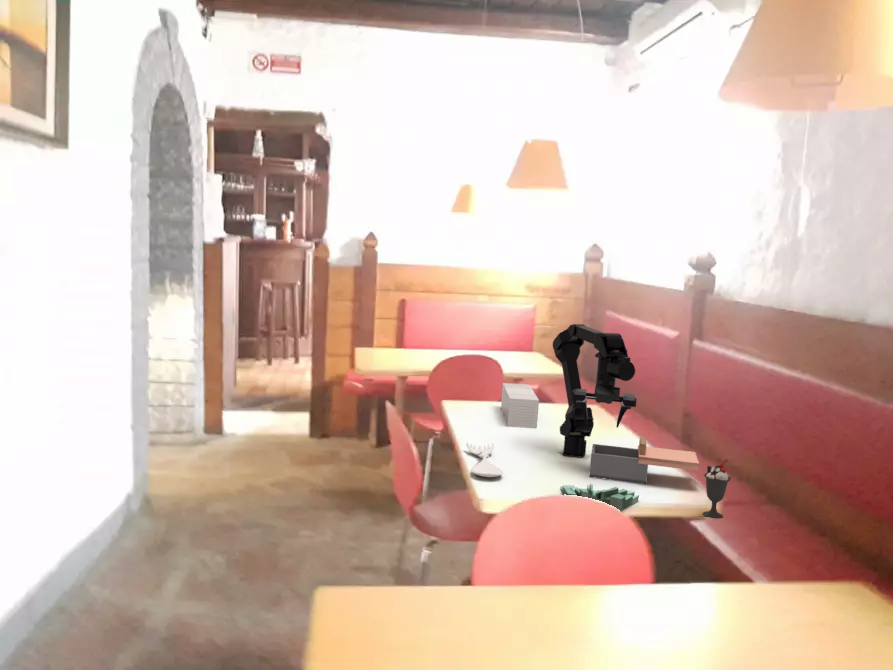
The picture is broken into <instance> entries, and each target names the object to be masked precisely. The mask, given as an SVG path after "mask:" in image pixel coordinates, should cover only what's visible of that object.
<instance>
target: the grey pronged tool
mask: <svg viewBox="0 0 893 670" xmlns="http://www.w3.org/2000/svg"><path fill="white" fill-rule="evenodd" d="M483 446H484V447H482V445H478V448H477V446H476V444H474V446H473V444H472V443H470V444H469V443H468V441H466V447H467V449H468V450H469V452H470V453H471V454H473V455H475V456H477V457H479V458H481V459H482V460H481V461H480V462H478V463H477V464H476V465H473V466H472V467H471V472H472V473H473V474H475V475H477V476H480V477H483V478H495V477H496V478H497V477H499V476H502V475H503V474H504V471H503V470H502V469H500V467H497V465H495V464H494V463H491V462H490V461H489V460H488V458H489V457H490V455H491V454H492V453H493V450H494V448H495V447H494V443H492V444H491V446H490V444H488V445H487V446H486V445H483Z"/></svg>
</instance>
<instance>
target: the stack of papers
mask: <svg viewBox="0 0 893 670" xmlns="http://www.w3.org/2000/svg"><path fill="white" fill-rule="evenodd" d="M501 391H502V392H501V403H500V410H501V413H502V416H503V417H504V421H505V423H506V426H507V428H523V429H536V428H537V429H538V420H539V419H538V418H539V407H540V406H539V405H540V399H539V398H538V396H537V395H536V393H535V391H534V390H533V388H532V387H531V384H525V383H522V384H521V383H513V382H512V383H511V382H510V383H508V382H503V383H502V389H501Z"/></svg>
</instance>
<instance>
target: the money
mask: <svg viewBox="0 0 893 670" xmlns="http://www.w3.org/2000/svg"><path fill="white" fill-rule="evenodd" d="M593 486H594V484H592V483H590V484H589V485H586V488H582V487H581V488H580V487H578V486H576V485H573V484H564V485H562V486H560V491H561V493H563V494H566V495H577V496H582V497H588V498H592V499H595V500H599V501H602V502H605V503H607V504H609V505H612V506H614V507H616V508H617V509H619V510H620V511H621V512H622V511H624V510H626V509H628V508H629V507H630V506H632V505H634V504H636V503H637V502H639V498H640V494H636V495H635V493H636V492H635V491H633V490H628V489H624V488H621V489H619V487H616V486H614V487H611V488H608V489H605V488H604V489H601V490H595V489H594V487H593Z"/></svg>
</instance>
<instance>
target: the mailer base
mask: <svg viewBox="0 0 893 670" xmlns="http://www.w3.org/2000/svg"><path fill="white" fill-rule="evenodd" d="M638 461H639V456H638V448H632V447H623V446H615V445H606V444H598V443H597V444H596V443H593V444H592V448H591V455H590V464H589V465H590V467H589V478H593V477H596V479H601V478H605V479H604V480H609V479H611V480H612V481H617V480H618V481H620V482H625V481H626V482H628V483H633V482H634V483H635V484H641V483H643V484H642V485H647V481H648V480H647V479H648V471H649V470H648V468H649V465H646V464H638ZM611 480H610V481H611ZM634 483H633V484H634Z"/></svg>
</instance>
